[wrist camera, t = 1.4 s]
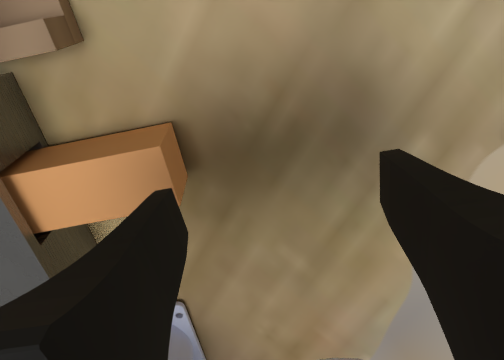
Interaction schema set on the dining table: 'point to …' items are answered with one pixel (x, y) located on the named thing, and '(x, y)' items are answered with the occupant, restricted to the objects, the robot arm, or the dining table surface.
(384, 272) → the dining table surface
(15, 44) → the tray
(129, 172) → the shaft
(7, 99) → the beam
